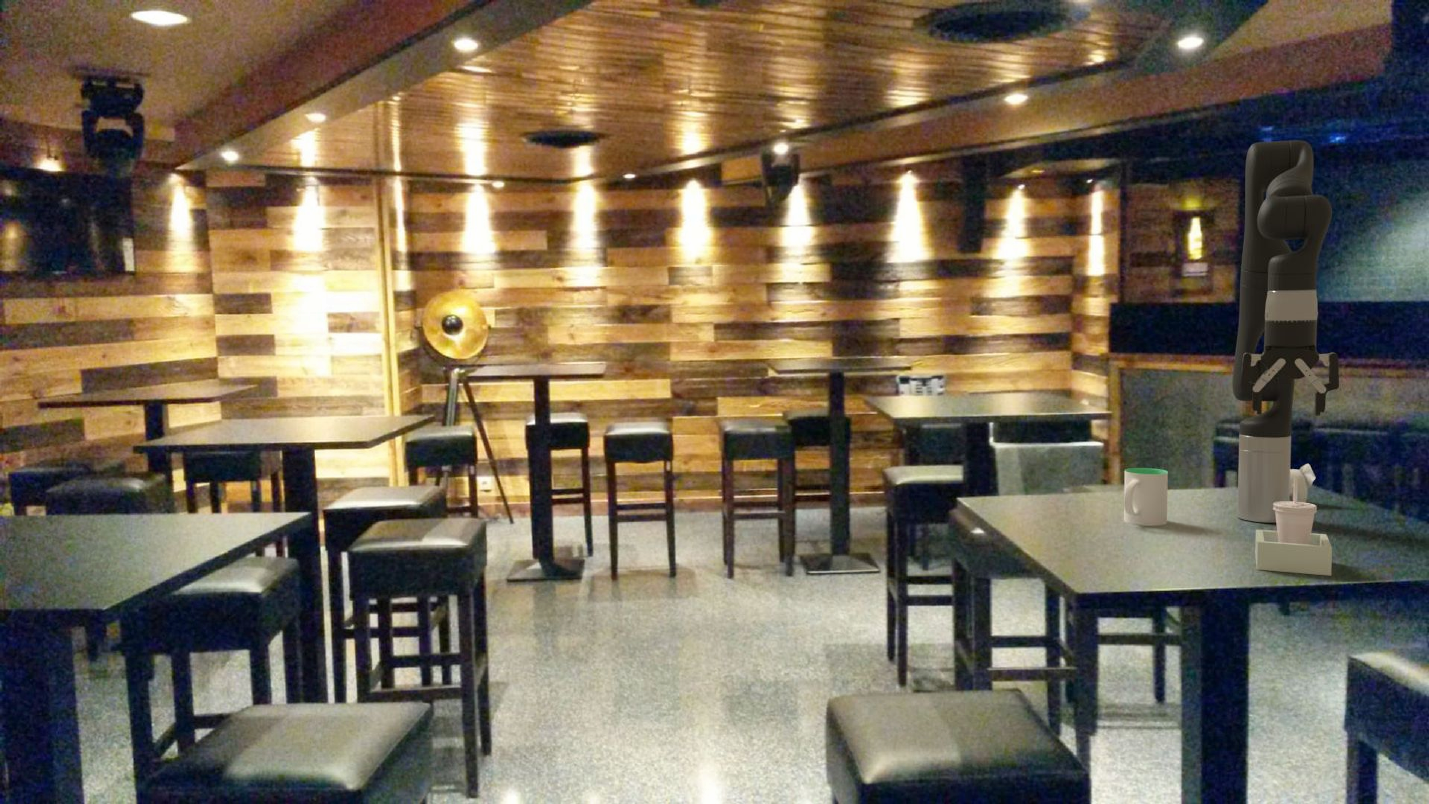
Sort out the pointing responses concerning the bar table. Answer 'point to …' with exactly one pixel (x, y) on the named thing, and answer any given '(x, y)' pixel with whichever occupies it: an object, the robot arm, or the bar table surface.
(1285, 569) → the bin
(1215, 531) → the bar table surface
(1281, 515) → the smoothie
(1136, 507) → the mug
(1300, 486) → the elephant figurine
